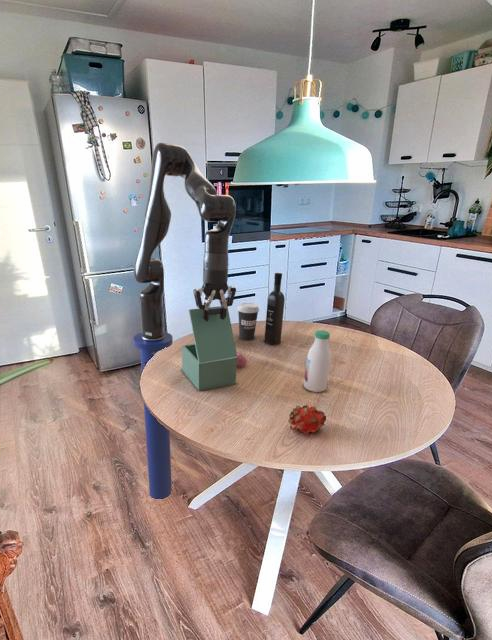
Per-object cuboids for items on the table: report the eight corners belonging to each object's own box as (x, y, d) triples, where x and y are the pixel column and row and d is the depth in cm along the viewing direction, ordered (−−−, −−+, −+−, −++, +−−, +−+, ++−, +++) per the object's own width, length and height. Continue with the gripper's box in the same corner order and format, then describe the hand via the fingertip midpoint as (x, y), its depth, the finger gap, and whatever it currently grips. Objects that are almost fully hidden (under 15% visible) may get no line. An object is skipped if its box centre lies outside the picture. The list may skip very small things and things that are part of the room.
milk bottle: (330, 387, 133) (339, 332, 124) (319, 395, 127) (327, 338, 119) (310, 379, 137) (317, 326, 129) (299, 387, 132) (305, 332, 124)
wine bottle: (272, 345, 165) (279, 275, 153) (263, 341, 169) (268, 273, 157) (281, 342, 169) (288, 273, 157) (271, 338, 173) (277, 271, 160)
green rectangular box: (182, 370, 141) (181, 345, 137) (216, 364, 146) (216, 340, 142) (198, 390, 127) (198, 363, 123) (235, 383, 133) (236, 357, 129)
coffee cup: (233, 339, 170) (234, 306, 164) (239, 332, 179) (240, 301, 172) (254, 342, 168) (256, 309, 162) (259, 335, 176) (261, 303, 170)
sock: (229, 360, 150) (230, 351, 148) (238, 359, 151) (239, 349, 150) (238, 369, 143) (239, 359, 142) (248, 367, 145) (249, 357, 143)
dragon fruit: (282, 436, 108) (319, 435, 112) (298, 435, 100) (336, 434, 104) (280, 406, 110) (316, 406, 114) (295, 403, 102) (333, 403, 106)
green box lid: (188, 310, 125) (193, 305, 120) (226, 306, 130) (232, 301, 125) (198, 362, 124) (203, 360, 119) (236, 356, 129) (243, 354, 124)
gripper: (231, 262, 123) (229, 313, 130) (189, 265, 117) (189, 318, 124) (242, 267, 116) (239, 321, 124) (198, 270, 111) (197, 326, 118)
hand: (214, 319), depth 124 cm, fingers closed on green box lid, 5 cm apart
